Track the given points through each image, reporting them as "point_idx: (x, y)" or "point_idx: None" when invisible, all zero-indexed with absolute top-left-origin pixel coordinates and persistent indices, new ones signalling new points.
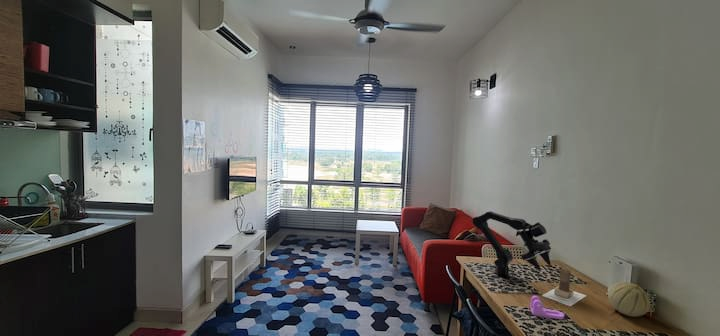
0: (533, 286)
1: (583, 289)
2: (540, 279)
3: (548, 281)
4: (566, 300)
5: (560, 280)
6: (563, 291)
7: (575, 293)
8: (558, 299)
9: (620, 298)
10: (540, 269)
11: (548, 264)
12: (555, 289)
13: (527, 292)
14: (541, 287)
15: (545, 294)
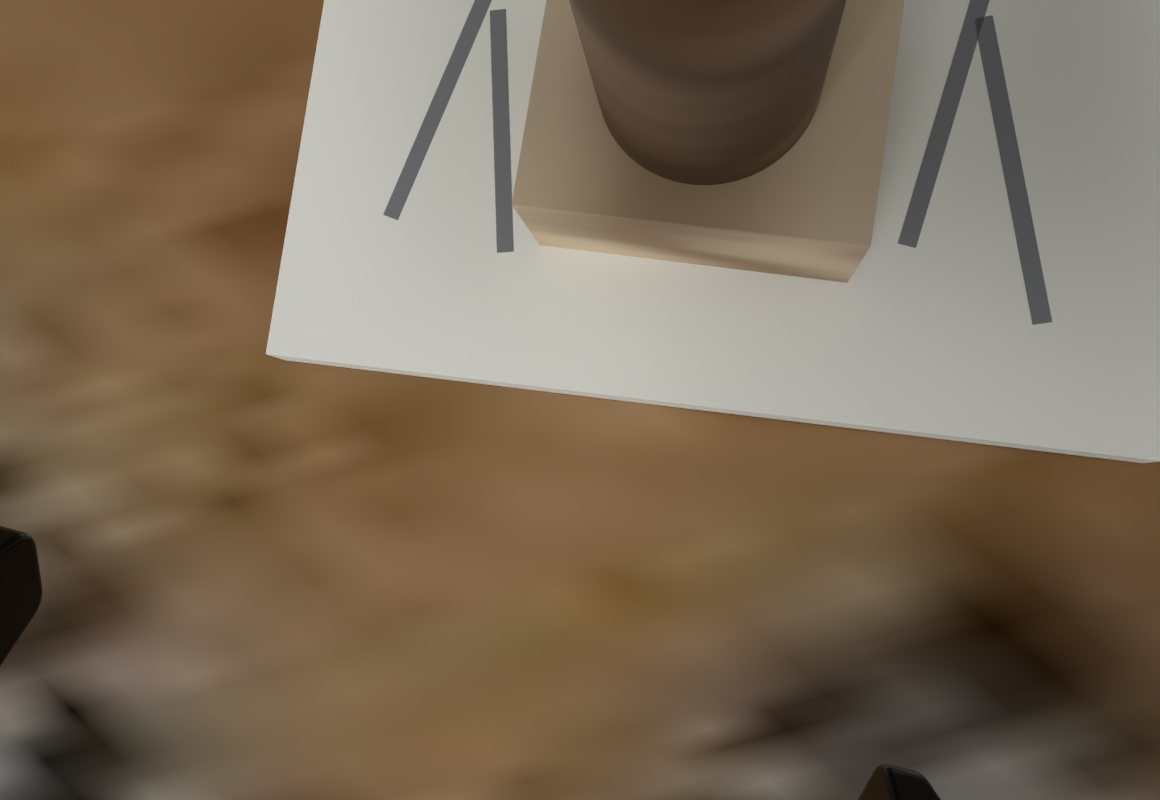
0: (641, 788)
1: (8, 22)
2: (92, 784)
3: (82, 618)
4: (962, 12)
5: (822, 15)
6: (854, 47)
7: (411, 11)
8: (1058, 137)
9: None
10: (919, 773)
11: (15, 631)
12: (871, 225)
13: (1144, 792)
14: (551, 633)
15: (1025, 417)
